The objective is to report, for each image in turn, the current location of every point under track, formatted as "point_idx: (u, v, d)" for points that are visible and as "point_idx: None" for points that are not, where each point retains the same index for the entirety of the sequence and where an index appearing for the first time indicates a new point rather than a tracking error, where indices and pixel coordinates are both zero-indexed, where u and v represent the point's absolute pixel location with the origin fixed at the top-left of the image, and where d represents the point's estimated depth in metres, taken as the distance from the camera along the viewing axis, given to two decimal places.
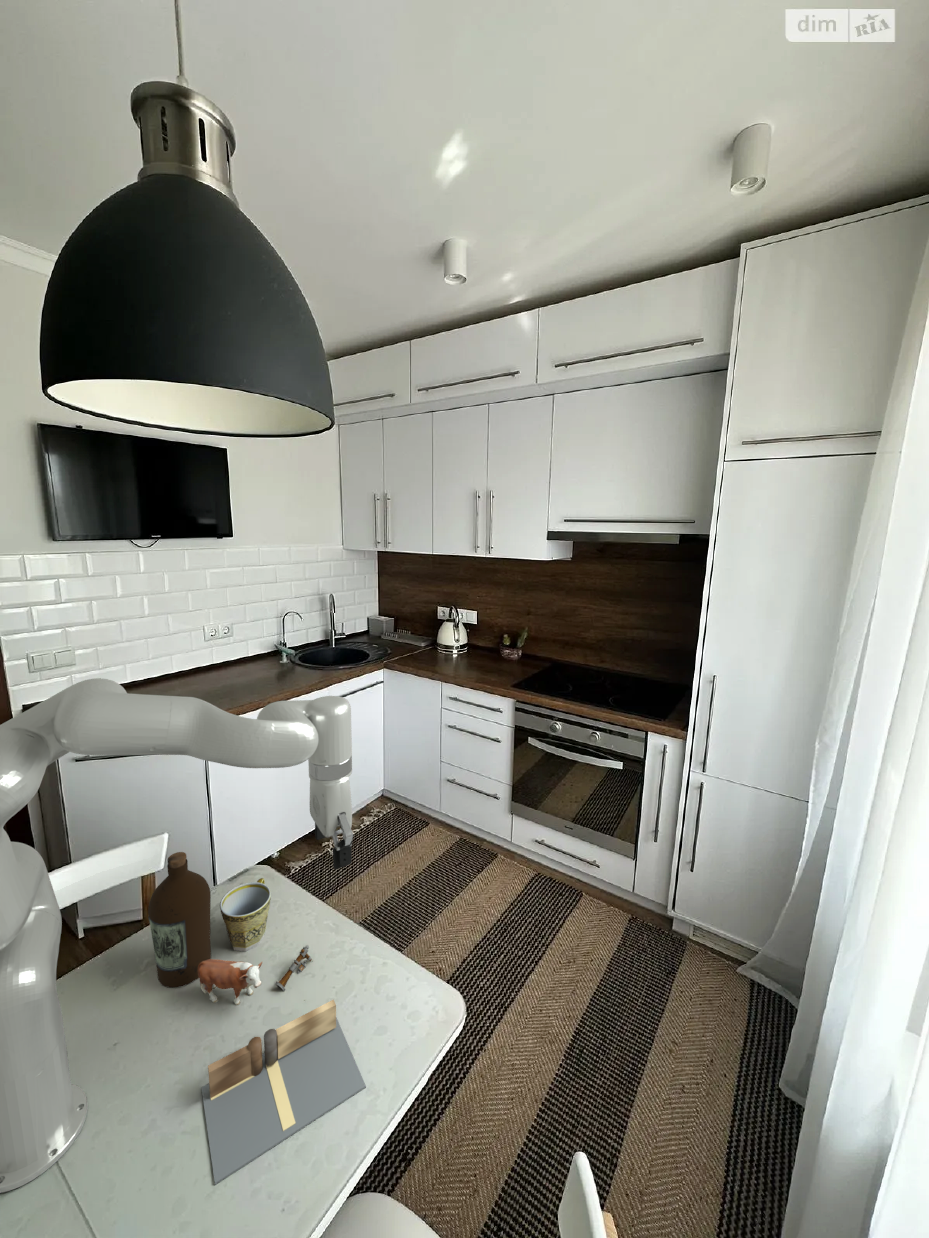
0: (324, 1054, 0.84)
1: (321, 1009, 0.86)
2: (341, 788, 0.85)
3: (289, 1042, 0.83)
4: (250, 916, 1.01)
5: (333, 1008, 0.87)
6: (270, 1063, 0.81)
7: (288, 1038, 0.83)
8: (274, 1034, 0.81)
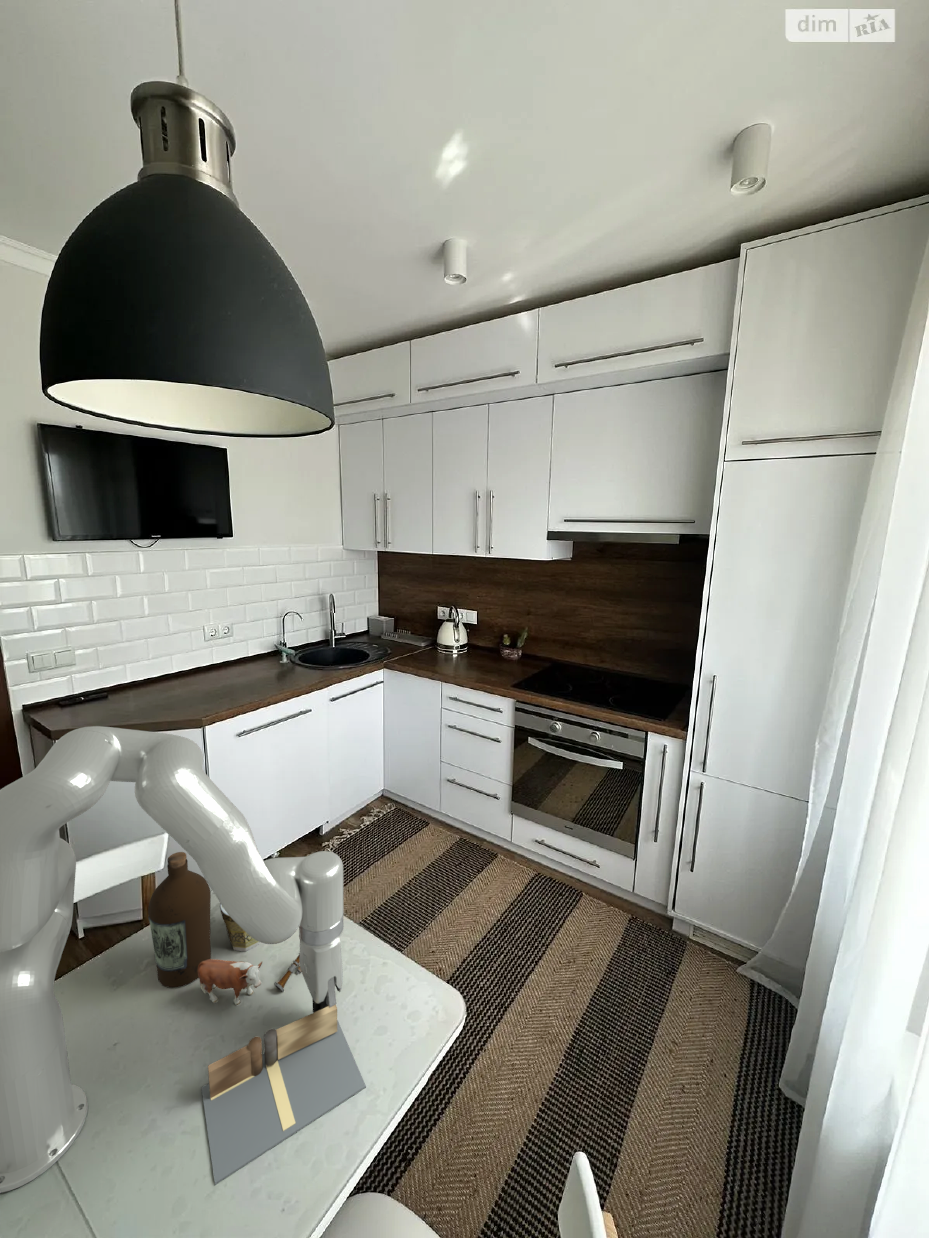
0: (324, 1054, 0.84)
1: (322, 1012, 0.86)
2: (331, 953, 0.83)
3: (289, 1043, 0.83)
4: None
5: (334, 1012, 0.86)
6: (270, 1063, 0.81)
7: (288, 1039, 0.83)
8: (274, 1034, 0.81)
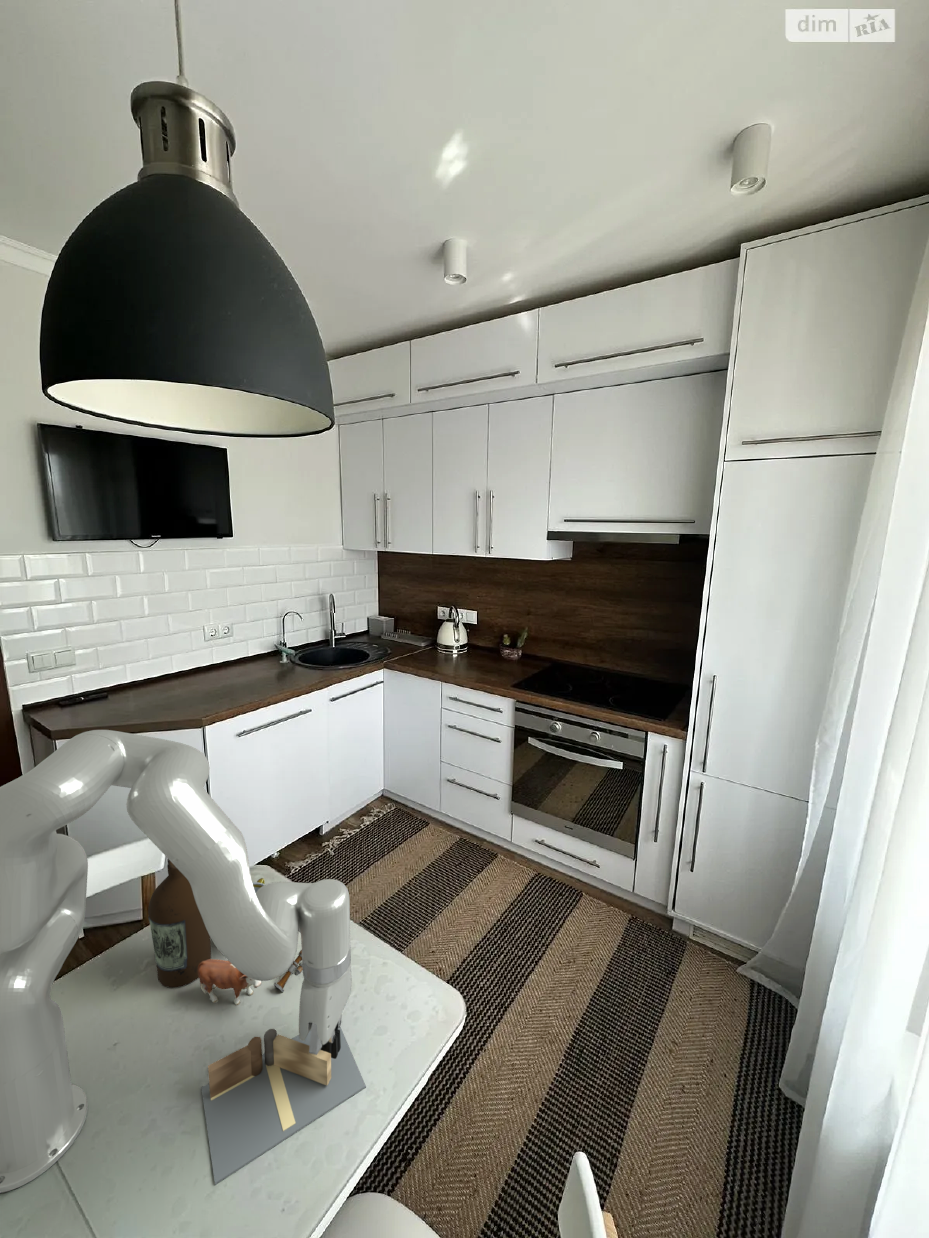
0: None
1: None
2: (314, 996, 0.75)
3: (283, 1058, 0.81)
4: None
5: (324, 1062, 0.78)
6: (265, 1062, 0.81)
7: (282, 1053, 0.80)
8: (271, 1037, 0.81)
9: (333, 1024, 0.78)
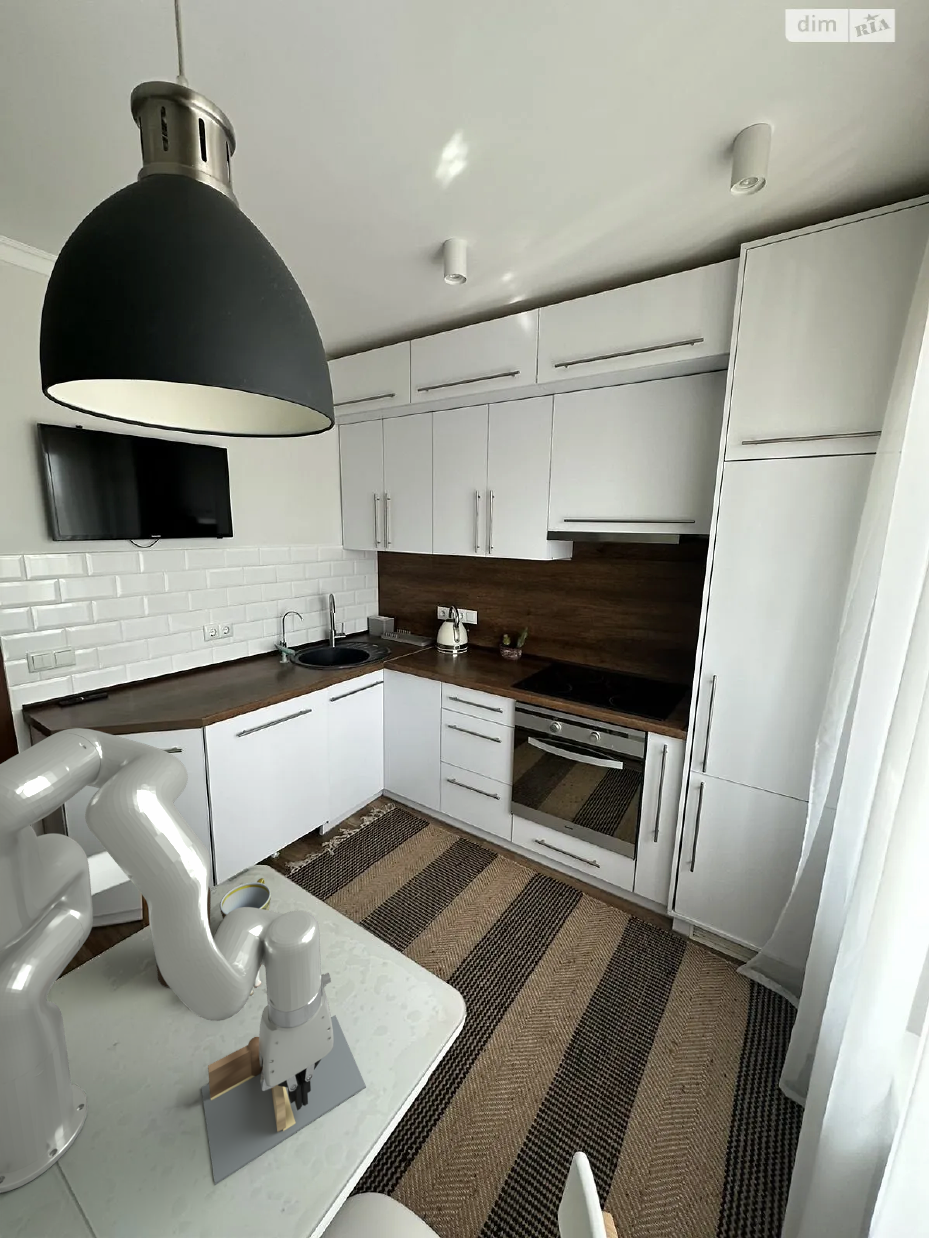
0: None
1: (277, 1087, 0.74)
2: (263, 1028, 0.70)
3: None
4: None
5: (276, 1105, 0.72)
6: None
7: None
8: None
9: (283, 1072, 0.70)
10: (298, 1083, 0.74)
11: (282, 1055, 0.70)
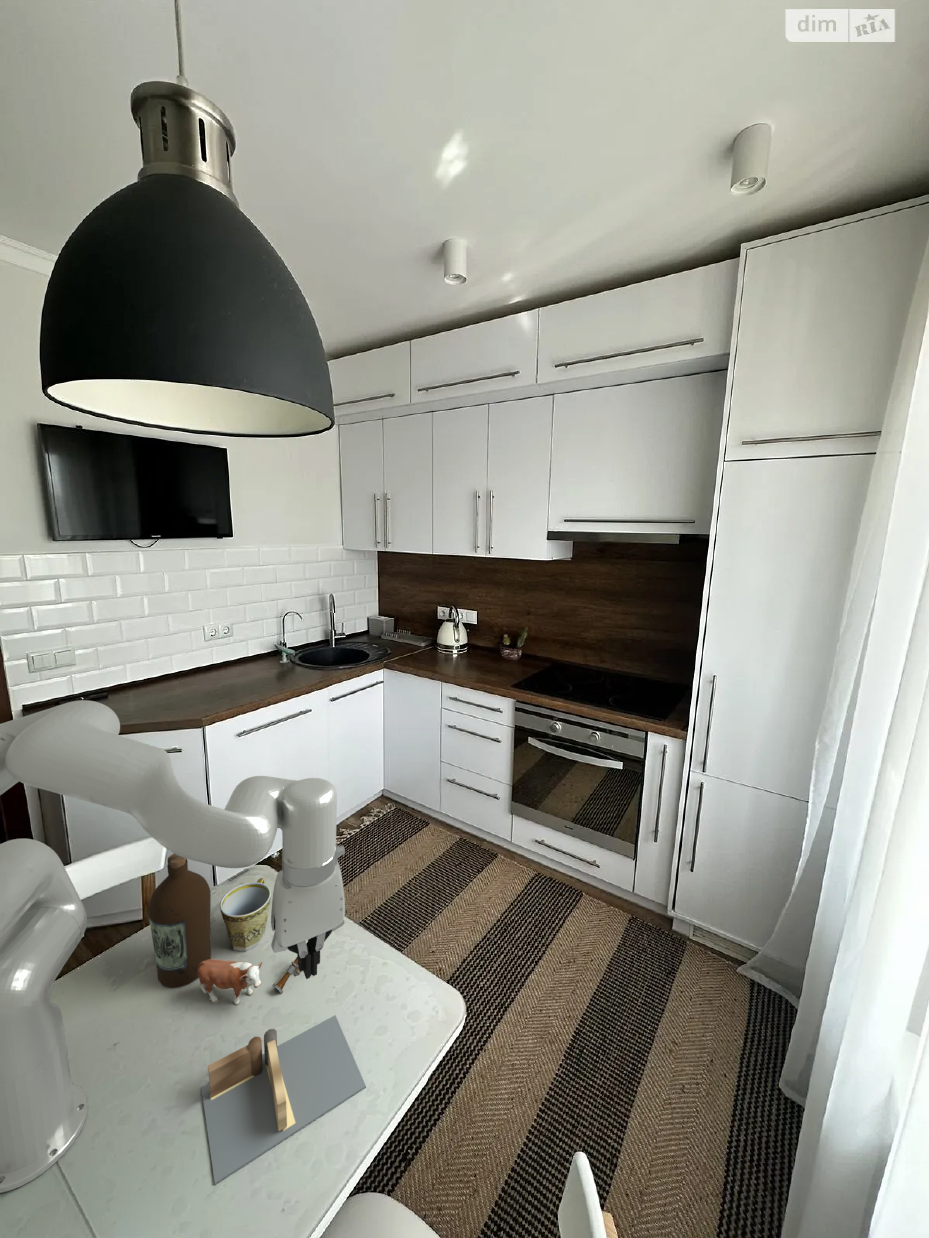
0: (324, 1054, 0.84)
1: (278, 1086, 0.74)
2: (277, 888, 0.70)
3: (269, 1067, 0.79)
4: (250, 916, 1.01)
5: (277, 1104, 0.72)
6: None
7: (269, 1061, 0.79)
8: (268, 1038, 0.81)
9: (295, 934, 0.71)
10: (308, 952, 0.74)
11: (295, 916, 0.70)
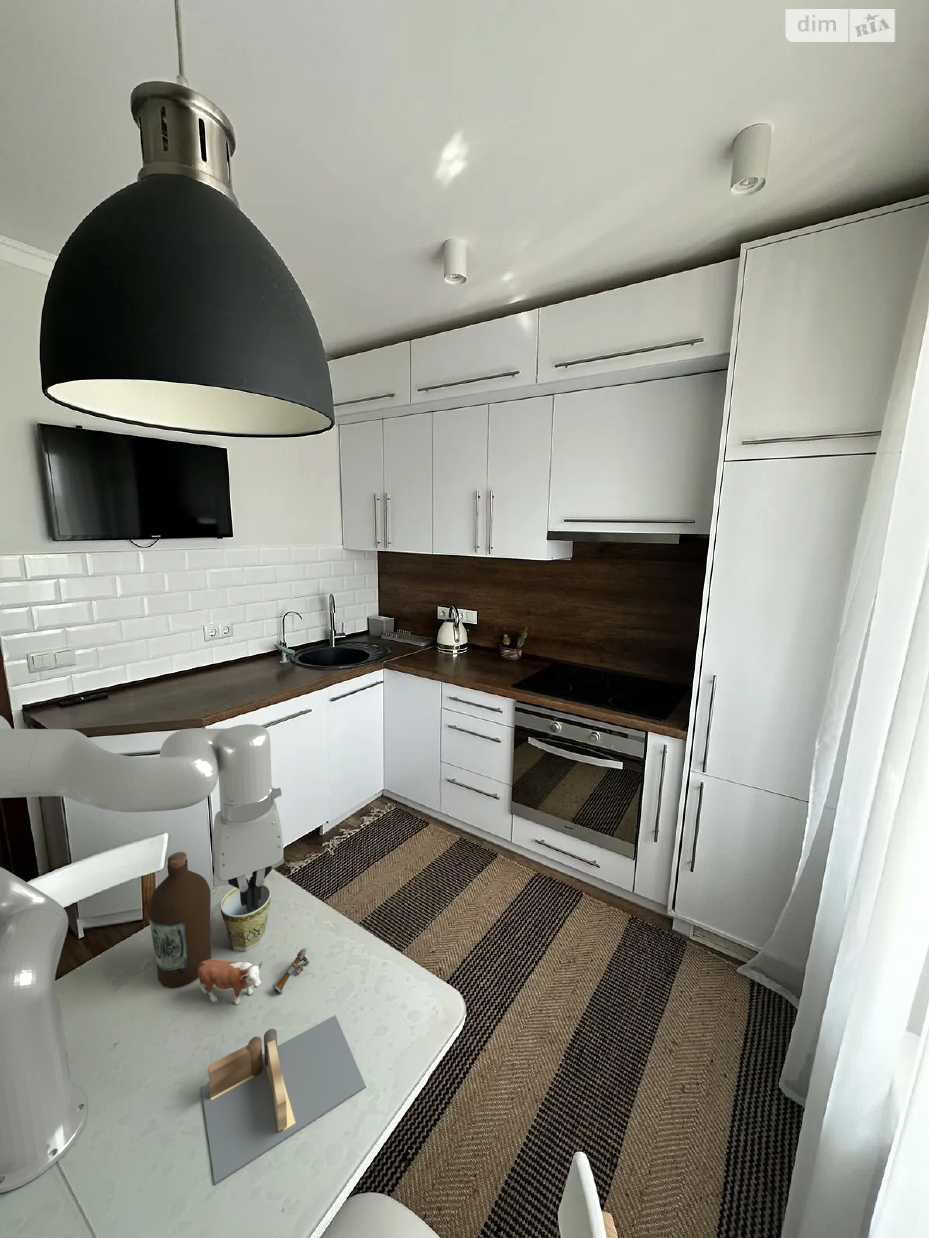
0: (324, 1054, 0.84)
1: (278, 1086, 0.74)
2: (215, 826, 0.75)
3: (269, 1067, 0.79)
4: (250, 916, 1.01)
5: (277, 1104, 0.72)
6: None
7: (269, 1061, 0.79)
8: (268, 1038, 0.81)
9: (233, 868, 0.76)
10: (249, 887, 0.79)
11: (232, 850, 0.75)
